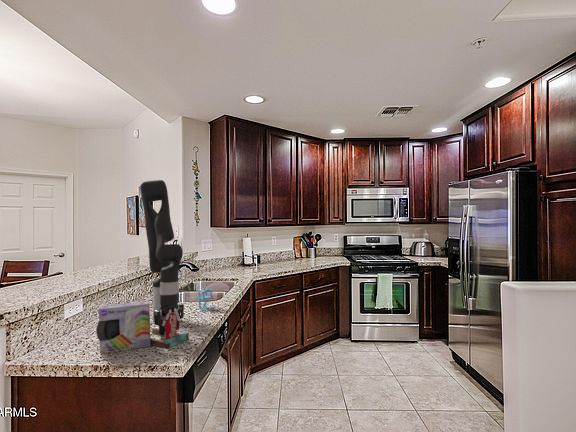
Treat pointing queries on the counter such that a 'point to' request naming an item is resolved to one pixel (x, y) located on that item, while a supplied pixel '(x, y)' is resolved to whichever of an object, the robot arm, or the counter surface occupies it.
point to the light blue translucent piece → (204, 298)
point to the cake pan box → (124, 326)
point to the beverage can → (170, 327)
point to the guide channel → (171, 341)
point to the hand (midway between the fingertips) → (169, 332)
